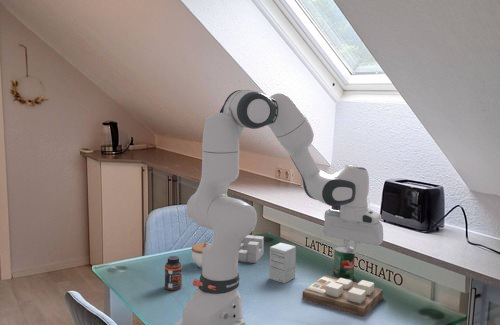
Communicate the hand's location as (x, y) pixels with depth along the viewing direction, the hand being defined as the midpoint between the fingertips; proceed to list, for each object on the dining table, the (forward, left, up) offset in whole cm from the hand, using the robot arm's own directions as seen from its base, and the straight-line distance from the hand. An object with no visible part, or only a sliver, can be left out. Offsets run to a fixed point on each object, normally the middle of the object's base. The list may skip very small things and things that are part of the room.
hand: (351, 252), depth 165 cm
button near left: (-4, +4, -14) cm, 15 cm away
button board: (0, +2, -17) cm, 17 cm away
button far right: (+4, -4, -14) cm, 15 cm away
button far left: (+4, +4, -16) cm, 16 cm away
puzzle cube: (+14, +52, -17) cm, 57 cm away
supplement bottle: (-28, +55, -17) cm, 64 cm away
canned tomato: (+19, +10, -17) cm, 27 cm away
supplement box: (+3, +28, -17) cm, 33 cm away
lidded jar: (-4, +60, -17) cm, 63 cm away
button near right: (-4, -4, -14) cm, 15 cm away
